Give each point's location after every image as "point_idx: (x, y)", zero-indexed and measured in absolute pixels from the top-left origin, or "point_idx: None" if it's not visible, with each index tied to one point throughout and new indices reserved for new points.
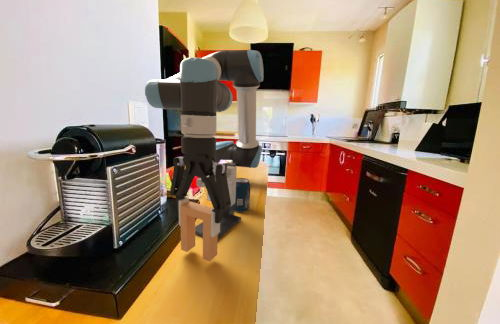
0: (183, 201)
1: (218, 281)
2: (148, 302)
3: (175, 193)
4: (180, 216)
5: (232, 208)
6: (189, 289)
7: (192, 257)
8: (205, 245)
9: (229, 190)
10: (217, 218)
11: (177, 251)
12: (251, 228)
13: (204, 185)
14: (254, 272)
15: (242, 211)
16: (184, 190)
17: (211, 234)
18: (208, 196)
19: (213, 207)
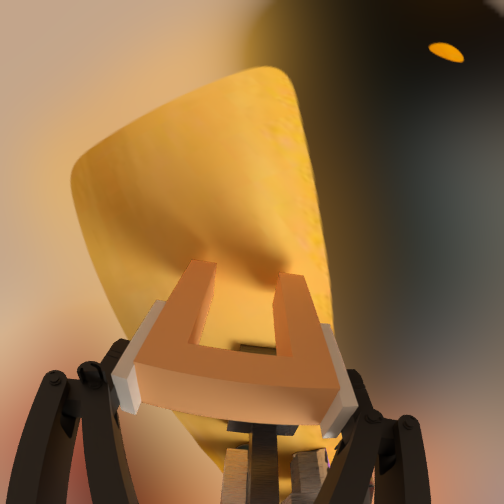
0: (334, 412)
1: (150, 219)
2: (267, 102)
3: (391, 432)
4: (327, 347)
5: (249, 447)
6: (199, 169)
7: (263, 270)
8: (197, 283)
9: (228, 491)
10: (116, 353)
11: (319, 276)
12: None
13: (287, 501)
14: (100, 275)
15: (241, 446)
16: (338, 465)
17: (160, 306)
18: (312, 462)
19: (108, 389)
